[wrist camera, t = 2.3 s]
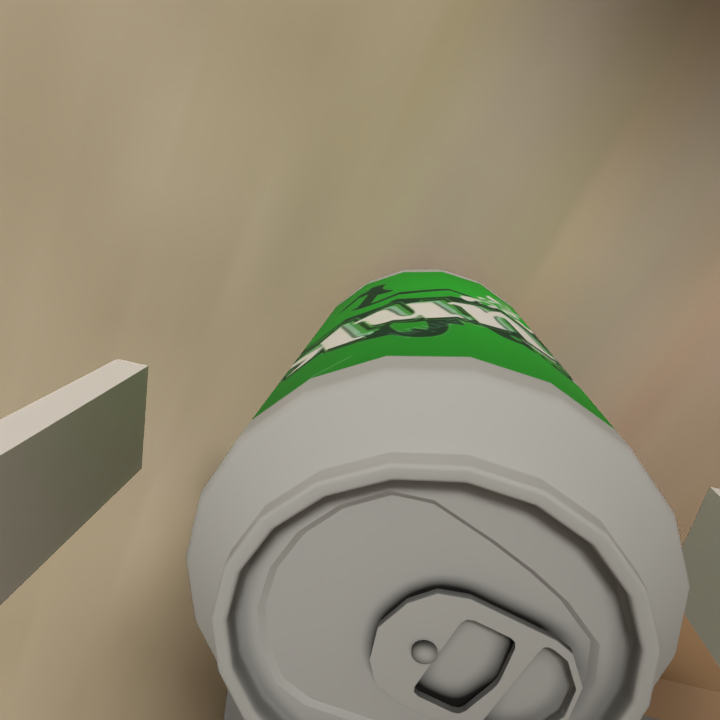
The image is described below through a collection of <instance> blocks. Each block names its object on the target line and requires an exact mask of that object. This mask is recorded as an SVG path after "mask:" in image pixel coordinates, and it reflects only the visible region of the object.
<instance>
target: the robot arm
mask: <svg viewBox="0 0 720 720" xmlns="http://www.w3.org/2000/svg"><path fill="white" fill-rule="evenodd" d="M147 380H148V366H147V365H143V364H138V363H133V362H129V361H124V360H120V359H116V360H114V361H112V362H110V363H108V364H106V365H104V366H103V367H101V368H99V369H97V370H95V371H93V372H91V373H89V374H87V375H85V376H83V377H81V378H79V379H77V380H76V381H74V382H72V383H70V384H68V385H66V386H64V387H62V388H60V389H58V390H56V391H54V392H52V393H50V394H49V395H47V396H45V397H43V398H41V399H39V400H37V401H35V402H33V403H31V404H29V405H27V406H25V407H23V408H21V409H20V410H18V411H16V412H14V413H12V414H10V415H8V416H6V417H4V418H2V419H0V605H1V604H2V603H3V602H4V601H5V600H6V599H7V598H8V597H9V596H10V595H11V594H12V593H13V592H14V591H15V590H16V589H17V588H18V587H19V586H21V585H22V584H23V583H24V582H25V581H26V580H27V579H28V578H29V577H30V576H31V575H32V574H33V573H34V572H35V571H36V570H37V569H38V568H39V567H40V566H41V565H42V564H43V563H44V562H45V561H46V560H47V559H48V558H49V557H50V556H51V555H53V554H54V553H55V552H56V551H57V550H58V549H59V548H60V547H61V546H62V545H63V544H64V543H65V542H66V541H67V540H68V539H69V538H70V537H71V536H72V535H73V534H74V533H75V532H76V531H77V530H78V529H79V528H80V527H81V526H82V525H83V524H85V523H86V522H87V521H88V520H89V519H90V518H91V517H92V516H93V515H94V514H95V513H96V512H97V511H98V510H99V509H100V508H101V507H102V506H103V505H104V504H105V503H106V502H107V501H108V500H109V499H110V498H111V497H112V496H113V495H114V494H115V493H117V492H118V491H119V490H120V489H121V488H122V487H123V486H124V485H125V484H126V483H127V482H128V481H129V480H130V479H131V478H132V477H133V476H134V475H135V474H136V473H137V472H138V471H139V470H140V469H141V467H142V453H143V438H144V424H145V409H146V394H147ZM682 552H683V557H684V562H685V566H686V571H687V576H688V581H689V586H690V587H689V592H688V597H687V601H686V606H685V611H684V615H685V616H686V618H687V619H688V621H689V622H690V624H691V625H692V627H693V628H694V630H695V631H696V633H697V634H698V636H699V637H700V639H701V640H702V642H703V643H704V645H705V646H706V648H707V649H708V651H709V652H710V654H711V655H712V657H713V658H714V660H715V661H716V663H717V664H718V666H719V667H720V489H717V488H712V487H710V488H709V490H708V492H707V494H706V496H705V499H704V501H703V503H702V505H701V507H700V510H699V512H698V514H697V516H696V518H695V521H694V523H693V525H692V527H691V529H690V532H689V534H688V536H687V538H686V540H685V543H684V545H683V547H682Z"/></svg>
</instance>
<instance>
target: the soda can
mask: <svg viewBox="0 0 720 720" xmlns="http://www.w3.org/2000/svg"><path fill="white" fill-rule="evenodd" d="M186 560H187V567H188V573H189V580H190V587H191V594H192V601H193V608H194V615H195V619H196V622H197V624H198V626H199V628H200V630H201V632H202V634H203V635H204V637H205V639H206V641H207V643H208V645H209V647H210V649H211V651H212V653H213V655H214V657H215V659H216V661H217V666H218V671H219V673H220V675H221V677H222V679H223V681H224V683H225V684H226V686H227V688H228V690H229V692H230V694H231V696H232V698H233V700H234V702H235V704H236V706H237V707H238V709H239V711H240V713H241V715H242V717H243V718H244V719H245V720H640V719H641V718H642V716H643V715H644V713H645V712H646V710H647V709H648V707H649V706H650V701H651V696H652V691H653V687H654V686H655V684H656V683H657V681H658V680H659V678H660V677H661V675H662V674H663V672H664V671H665V669H666V668H667V666H668V665H669V663H670V662H671V660H672V659H673V657H674V655H675V653H676V649H677V644H678V639H679V635H680V630H681V625H682V620H683V616H684V611H685V606H686V601H687V597H688V592H689V587H690V586H689V581H688V576H687V571H686V566H685V562H684V557H683V552H682V547H681V542H680V537H679V532H678V527H677V523H676V518H675V515H674V512H673V510H672V509H671V507H670V506H669V504H668V503H667V501H666V500H665V498H664V497H663V495H662V494H661V493H660V491H659V490H658V488H657V487H656V485H655V484H654V482H653V481H652V479H651V478H650V476H649V475H648V473H647V472H646V470H645V469H644V467H643V466H642V464H641V463H640V461H639V460H638V458H637V457H636V456H635V454H634V453H633V451H632V450H631V448H630V447H629V445H628V444H627V443H626V442H625V441H624V440H623V438H622V437H621V436H620V435H619V434H618V432H617V431H616V430H615V429H614V428H613V426H612V425H611V424H610V423H609V422H608V421H607V419H606V418H605V417H604V416H603V415H602V413H601V412H600V411H599V410H598V409H597V408H596V406H595V405H594V404H593V403H592V402H591V400H590V399H589V398H588V397H587V396H586V395H585V393H584V392H583V391H582V390H581V389H580V387H579V386H578V385H577V384H576V383H575V382H574V380H573V379H572V378H571V377H570V376H569V374H568V373H567V372H566V371H565V370H564V369H563V367H562V366H561V365H560V364H559V363H558V361H557V360H556V359H555V358H554V357H553V356H552V354H551V353H550V352H549V351H548V350H547V348H546V347H545V346H544V345H543V344H542V342H541V341H540V340H539V339H538V338H537V337H536V335H535V334H534V333H533V332H532V331H531V329H530V328H529V327H528V326H527V325H526V324H525V322H524V321H523V320H522V319H521V318H520V316H519V315H518V314H517V313H516V312H515V311H514V309H513V308H512V307H511V306H510V305H509V303H507V302H506V301H505V300H503V299H502V298H500V297H499V296H498V295H496V294H495V293H494V292H492V291H491V290H490V289H488V288H487V287H485V286H484V285H483V284H481V283H480V282H479V281H476V280H473V279H470V278H467V277H464V276H460V275H457V274H454V273H451V272H448V271H445V270H402V271H399V272H396V273H393V274H390V275H387V276H384V277H381V278H378V279H375V280H372V281H369V282H367V283H366V284H364V285H363V286H362V287H360V288H359V289H358V290H356V291H355V292H354V293H352V294H351V295H350V296H348V297H347V298H346V299H344V300H343V301H341V302H340V303H339V304H338V306H337V307H336V308H335V310H334V311H333V312H332V314H331V315H330V316H329V318H328V319H327V320H326V322H325V323H324V324H323V326H322V327H321V328H320V330H319V331H318V332H317V334H316V335H315V336H314V338H313V339H312V340H311V342H310V343H309V344H308V346H307V347H306V348H305V350H304V351H303V352H302V354H301V355H300V356H299V358H298V359H297V360H296V362H295V363H294V364H293V366H292V367H291V368H290V370H289V371H288V372H287V374H286V375H285V376H284V378H283V379H282V380H281V382H280V383H279V384H278V386H277V387H276V388H275V390H274V391H273V392H272V394H271V395H270V396H269V398H268V399H267V400H266V402H265V403H264V404H263V406H262V407H261V408H260V410H259V411H258V412H257V414H256V415H255V416H254V418H253V419H252V420H251V422H250V423H249V424H248V426H247V427H246V428H245V430H244V431H243V432H242V434H241V435H240V436H239V438H238V439H237V441H236V442H235V444H234V445H233V447H232V448H231V449H230V451H229V452H228V454H227V455H226V457H225V458H224V460H223V461H222V462H221V464H220V465H219V467H218V468H217V470H216V471H215V473H214V474H213V476H212V477H211V478H210V480H209V481H208V483H207V484H206V486H205V487H204V489H203V490H202V492H201V495H200V499H199V504H198V508H197V512H196V517H195V521H194V525H193V530H192V534H191V538H190V543H189V547H188V551H187V556H186Z"/></svg>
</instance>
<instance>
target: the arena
mask: <svg viewBox="0 0 720 720" xmlns="http://www.w3.org/2000/svg"><path fill="white" fill-rule="evenodd" d="M223 720H245V719H244V718H243V717H242V715H241V713H240V711H239V709H238V707H237V706H236V704H235V702H234V700H233V698H232V696H231V694H230V692H229V690H228V691H227V698H226V705H225V712H224V719H223ZM640 720H720V667H719V666H718V664H717V663H716V661H715V660H714V658H713V657H712V655H711V654H710V652H709V651H708V649H707V648H706V646H705V645H704V643H703V642H702V640H701V639H700V637H699V636H698V634H697V633H696V631H695V630H694V628H693V627H692V625H691V624H690V622H689V621H688V619H687V618H686V616H685V615H684V616H683V620H682V625H681V630H680V635H679V639H678V644H677V649H676V653H675V655H674V657H673V659H672V660H671V662H670V663H669V665H668V666H667V668H666V669H665V671H664V672H663V674H662V675H661V677H660V678H659V680H658V681H657V683H656V684H655V686H654V687H653V691H652V696H651V701H650V706H649V707H648V709H647V710H646V712H645V713H644V715H643V716H642V718H641V719H640Z"/></svg>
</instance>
